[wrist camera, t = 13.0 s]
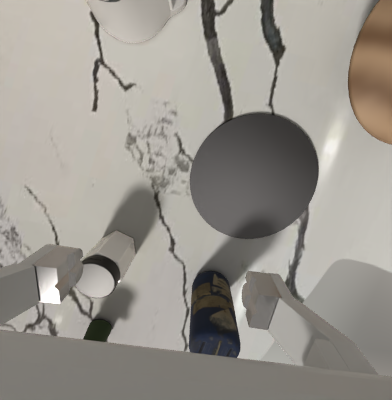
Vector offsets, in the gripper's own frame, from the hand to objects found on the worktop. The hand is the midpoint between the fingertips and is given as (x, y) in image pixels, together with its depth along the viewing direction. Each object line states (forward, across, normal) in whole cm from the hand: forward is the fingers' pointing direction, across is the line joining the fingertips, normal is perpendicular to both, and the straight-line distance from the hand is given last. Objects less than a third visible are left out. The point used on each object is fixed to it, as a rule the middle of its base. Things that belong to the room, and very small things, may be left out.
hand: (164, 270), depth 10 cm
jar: (+34, +15, +22) cm, 43 cm away
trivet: (+33, -13, +1) cm, 36 cm away
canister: (+34, -9, +29) cm, 45 cm away
